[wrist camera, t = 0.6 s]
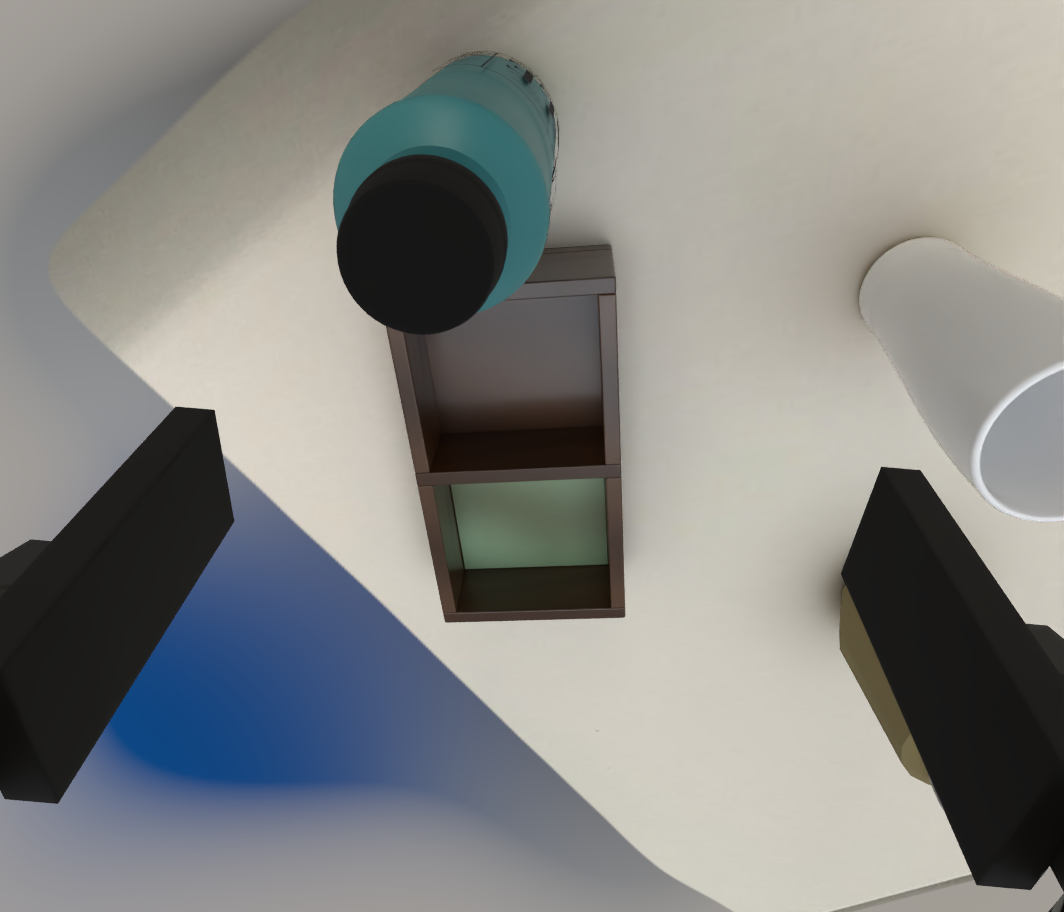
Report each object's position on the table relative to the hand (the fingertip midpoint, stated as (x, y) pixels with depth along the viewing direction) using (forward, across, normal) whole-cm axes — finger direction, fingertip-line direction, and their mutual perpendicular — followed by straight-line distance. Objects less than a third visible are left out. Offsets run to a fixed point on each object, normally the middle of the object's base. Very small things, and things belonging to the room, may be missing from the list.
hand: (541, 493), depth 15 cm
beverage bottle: (+25, -4, +3) cm, 25 cm away
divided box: (+25, -1, -13) cm, 28 cm away
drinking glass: (+25, +18, -3) cm, 31 cm away
